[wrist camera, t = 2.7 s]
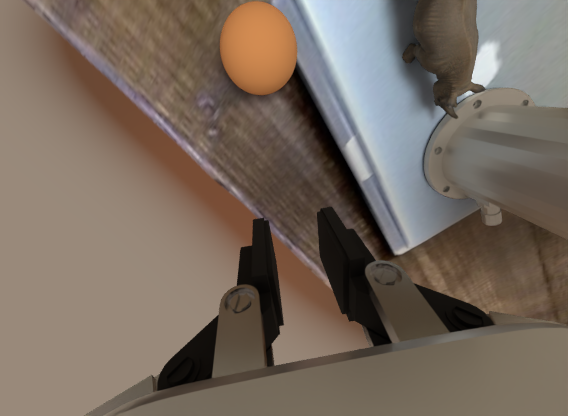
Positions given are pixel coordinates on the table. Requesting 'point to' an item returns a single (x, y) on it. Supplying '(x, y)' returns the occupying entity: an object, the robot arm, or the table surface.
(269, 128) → the table surface
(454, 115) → the rhino figurine
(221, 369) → the robot arm
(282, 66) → the ball
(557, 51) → the table surface
